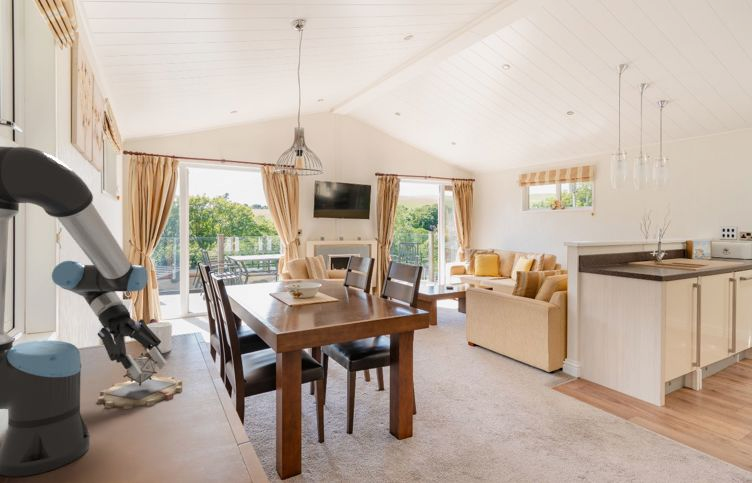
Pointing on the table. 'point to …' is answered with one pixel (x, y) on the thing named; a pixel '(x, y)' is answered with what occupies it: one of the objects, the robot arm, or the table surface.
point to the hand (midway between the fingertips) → (151, 370)
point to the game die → (143, 369)
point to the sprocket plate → (140, 392)
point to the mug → (162, 335)
